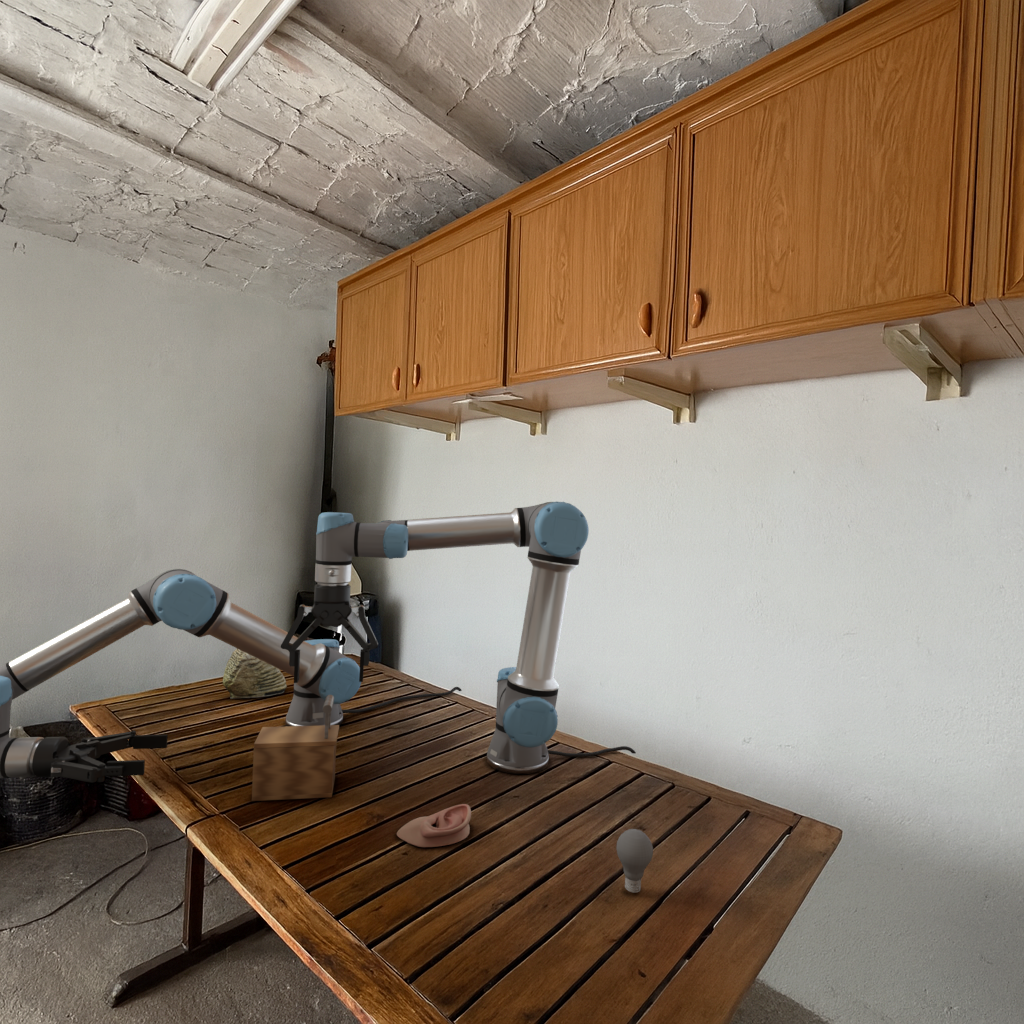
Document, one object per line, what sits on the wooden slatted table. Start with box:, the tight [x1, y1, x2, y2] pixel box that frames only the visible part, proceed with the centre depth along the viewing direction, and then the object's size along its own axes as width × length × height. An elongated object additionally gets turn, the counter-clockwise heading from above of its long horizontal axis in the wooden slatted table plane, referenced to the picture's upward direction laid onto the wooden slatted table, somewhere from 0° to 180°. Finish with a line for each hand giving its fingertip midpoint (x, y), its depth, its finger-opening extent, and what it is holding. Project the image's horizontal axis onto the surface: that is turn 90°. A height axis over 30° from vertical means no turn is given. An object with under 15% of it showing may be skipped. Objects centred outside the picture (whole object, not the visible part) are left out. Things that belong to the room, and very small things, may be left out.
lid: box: [253, 695, 340, 749], centre depth 137 cm, size 16×10×8 cm, turn 102°
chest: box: [251, 744, 337, 802], centre depth 137 cm, size 16×10×11 cm, turn 102°
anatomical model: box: [396, 803, 472, 848], centre depth 121 cm, size 13×4×12 cm
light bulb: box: [615, 828, 654, 894], centre depth 106 cm, size 6×6×10 cm
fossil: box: [222, 648, 288, 699], centre depth 198 cm, size 9×18×15 cm, turn 132°
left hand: (156, 753), depth 131 cm, fingers open, 13 cm apart
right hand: (329, 680), depth 138 cm, fingers open, 13 cm apart
